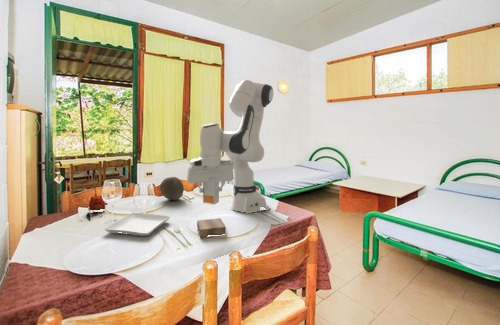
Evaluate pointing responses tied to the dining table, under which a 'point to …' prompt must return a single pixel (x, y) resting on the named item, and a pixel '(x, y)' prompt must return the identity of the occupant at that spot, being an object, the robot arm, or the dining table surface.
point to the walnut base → (210, 227)
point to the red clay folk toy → (96, 202)
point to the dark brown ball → (172, 188)
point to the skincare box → (211, 191)
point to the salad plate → (137, 224)
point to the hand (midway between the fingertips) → (210, 191)
